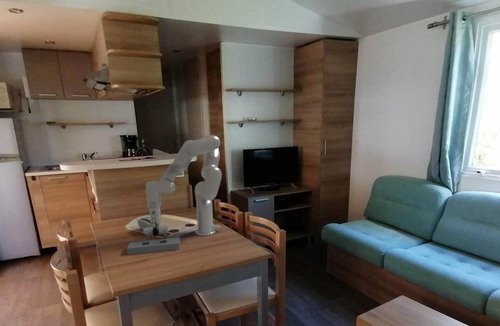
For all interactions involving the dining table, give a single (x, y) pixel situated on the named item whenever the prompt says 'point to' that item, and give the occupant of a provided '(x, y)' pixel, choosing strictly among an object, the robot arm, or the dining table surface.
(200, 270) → the dining table surface
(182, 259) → the dining table surface
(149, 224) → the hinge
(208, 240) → the dining table surface
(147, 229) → the clip
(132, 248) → the rail
